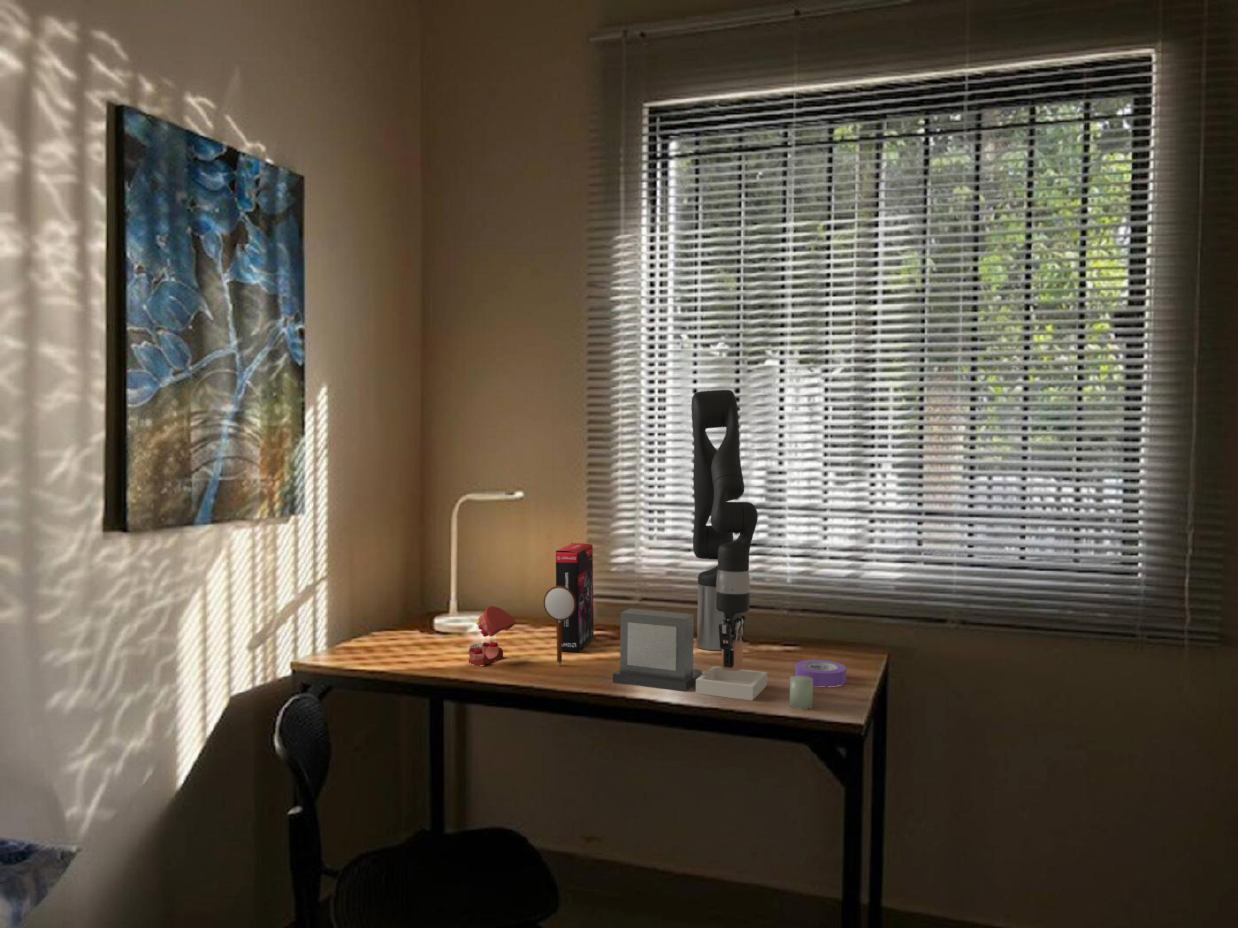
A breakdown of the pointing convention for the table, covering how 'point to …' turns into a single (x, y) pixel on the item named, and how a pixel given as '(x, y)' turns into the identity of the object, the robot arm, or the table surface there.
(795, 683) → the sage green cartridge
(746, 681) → the tray
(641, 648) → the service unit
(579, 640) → the graphics card box
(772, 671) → the table surface
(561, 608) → the magnifying glass
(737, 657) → the cylinder
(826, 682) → the masking tape
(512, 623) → the anatomical model
